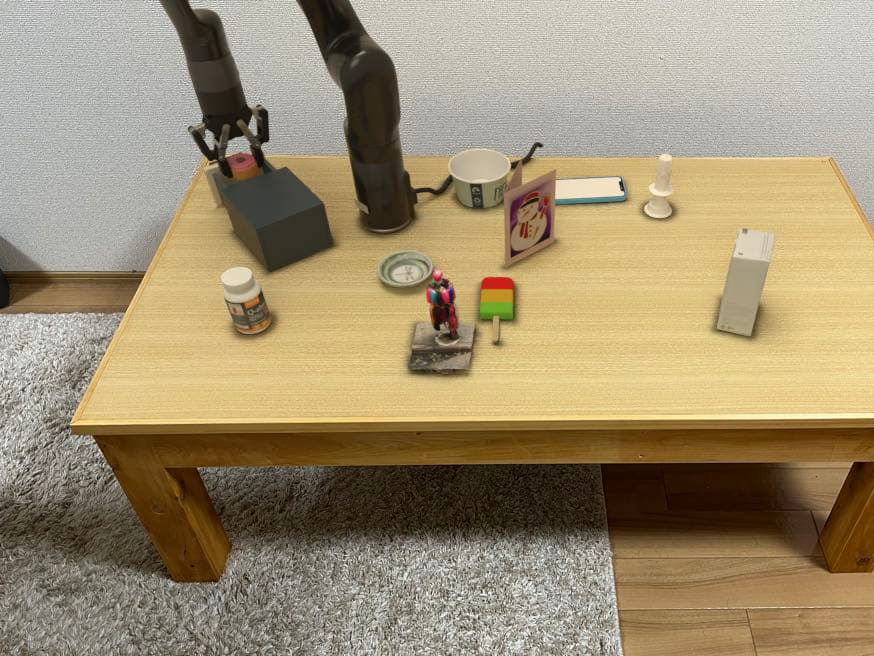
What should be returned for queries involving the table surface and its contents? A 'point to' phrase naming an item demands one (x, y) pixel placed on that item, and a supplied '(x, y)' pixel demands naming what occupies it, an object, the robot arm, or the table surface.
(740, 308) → the cosmetic box
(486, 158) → the food container
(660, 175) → the candle
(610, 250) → the table surface
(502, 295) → the popsicle
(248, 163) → the donut
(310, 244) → the cabinet
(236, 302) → the pill bottle
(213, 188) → the drawer
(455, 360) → the statue
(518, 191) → the greeting card
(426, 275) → the saucer
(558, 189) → the smartphone
